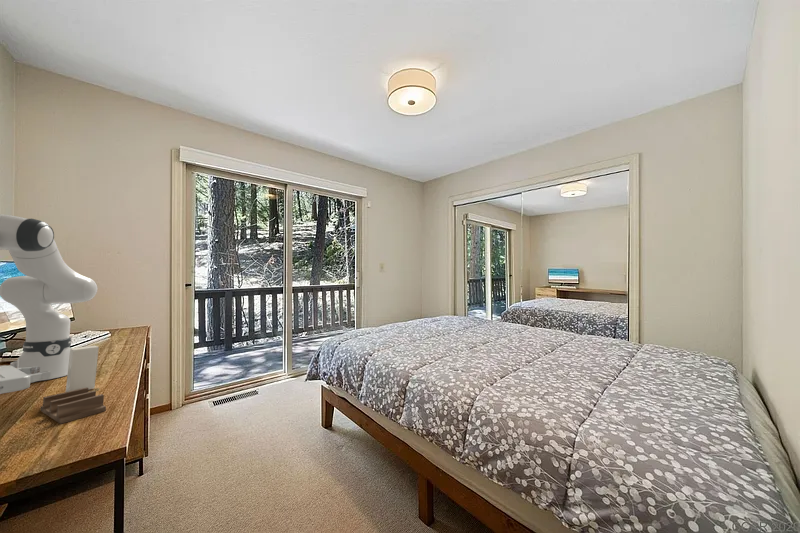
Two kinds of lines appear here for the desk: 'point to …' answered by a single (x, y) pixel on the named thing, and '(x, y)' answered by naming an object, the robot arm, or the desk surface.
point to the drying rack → (72, 405)
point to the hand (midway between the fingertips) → (44, 371)
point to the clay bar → (82, 368)
